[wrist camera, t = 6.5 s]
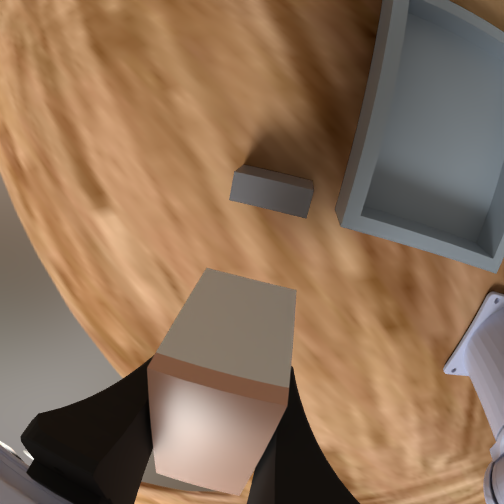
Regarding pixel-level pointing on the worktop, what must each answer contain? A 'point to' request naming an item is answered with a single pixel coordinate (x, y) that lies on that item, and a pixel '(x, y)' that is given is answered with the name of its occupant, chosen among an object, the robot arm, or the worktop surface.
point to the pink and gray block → (221, 380)
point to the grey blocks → (272, 190)
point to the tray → (431, 135)
